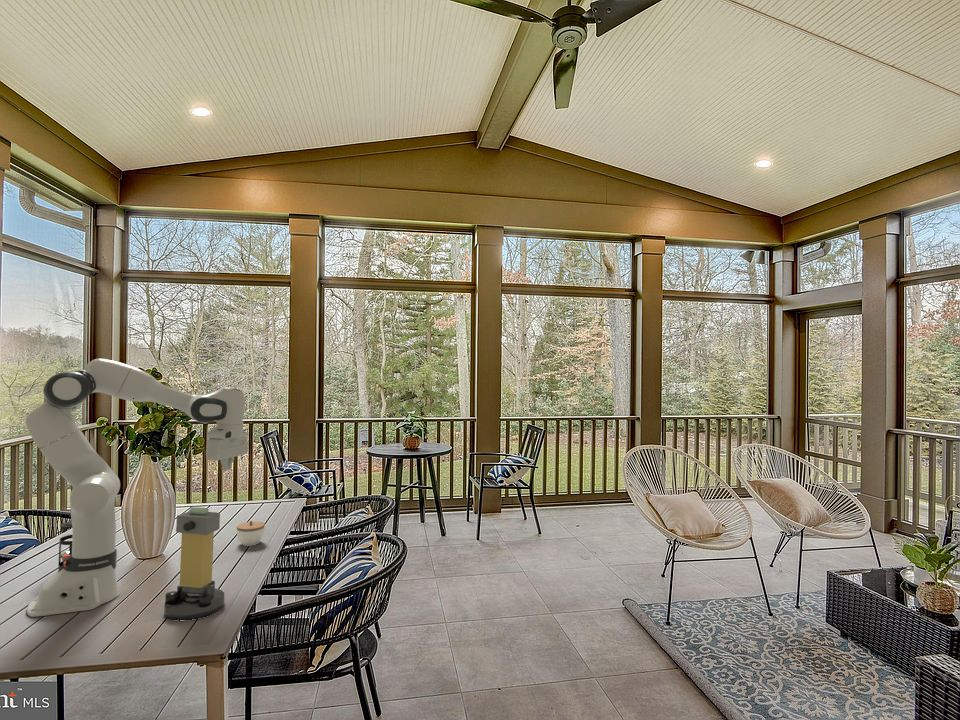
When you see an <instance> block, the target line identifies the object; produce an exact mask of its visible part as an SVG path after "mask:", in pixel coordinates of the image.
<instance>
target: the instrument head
mask: <svg viewBox="0 0 960 720" xmlns="http://www.w3.org/2000/svg"><path fill="white" fill-rule="evenodd" d="M220 522H221V513H220V512H214V511H209V508H208V507H200V506H199V507H198V506H197V507H196V506H192V507H190V508H189V509H188V511H186V512H183V513H181V514H178V515H176V528H175V532H176V533H180V534H181V541H180V542H181V547H180V565H179V566H180V567H179V568H180V569H179V570H180V571H179V585H180V586H182V593H187V594H197V595H204V589H205V588H206V587H208V586H209V585H208V584H209V583H210V582H212V581H213V580H212V579H213V563H214V561H213V560H214V538H215V537H214V535H215V533H214V532H216V531H218V530H220V524H221V523H220Z"/></svg>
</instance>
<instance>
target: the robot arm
mask: <svg viewBox="0 0 960 720" xmlns="http://www.w3.org/2000/svg"><path fill="white" fill-rule="evenodd" d="M42 392H43V398H44V399H43V404H41V405H39V407H38V406H37V407H36V408H35V409H33V410H32V411H30V412H29V413H28V414H27V416H26V417H25V424H26V427H27V430H28V433H29V434H30V436H31V438H32V440H33V441H34V444H35V445H36V447H37V448H38V449H39V451H40V452H41V453H42V455H43V456H44V458H45V459H46V460H47V462H48V464H49V465H50V466H51V467H52V469H53V471H55V472H56V473H58V474H59V475H60V476H61V477H62V478H64V479H65V480H66V482H67V483H69V485H71V487H72V489H71V491H70V496H69V505H70V507H69V509H70V517H71V518H70V519H71V520H70V521H72V528H71V529H72V534H73V536H72V538H71V539H72V540H71V541H72V555H69V554H65V555H64V556H63V558H61V562H62V561H63V569H62V570H61V571H60V572H58V571H57V573H55V575H52V577H50V578H49V579H47V580H46V581H45V582H44V583H43V584H42V585H41V587H40V589H39V591H38V594H37V597H36V598H34V599H33V600H32V601H30V602H29V604H28V606H27V608H26V614H27V616H29V617H31V618H36V617H37V618H38V617H44V616H50V615H60V614H66V613H75V612H76V613H77V612H82V611H89V610H90V611H91V610H93V609H96V608H98V607H99V606H101V605H103V604H105V603H106V604H107V603H108V602H111V601H112V600H114V599H116V598H117V597H118V596H119V595H120V594H121V593H120V592H121V591H120V590H119V586H118V581H117V574H116V573H117V572H116V567H117V565H118V552H117V551H118V549H116V544H117V543H116V540H117V539H116V537H117V536H116V535H117V522H116V511H115V510H116V509H115V507H116V506H115V504H116V503H115V500H116V496H117V495H118V494H119V492H120V489H121V480H120V478H119V476H118V475H117V474H116V473H115V472H114V470H112V468H111V467H110V466H109V464H108V463H107V462H106V461H105V460H104V458H102V457H101V455H99V454H98V453H97V451H96V450H95V448H94V447H93V446H92V445H91V443H90V442H89V440H88V438H86V435H85V434H84V433H83V431H82V430H81V429H80V427H79V426H78V424H77V423H76V421H75V420H74V418H73V415H72V414H73V413H72V411H73V410H74V409H75V408H76V407H79V406H80V405H82V404H83V403H84V402H85V401H86V400H87V398H88V397H89V396H91V394H94V393H101V394H106V395H107V396H108V395H109V396H112V397H114V398H117V399H121V400H125V401H129V402H136V403H147V402H149V403H158V404H161V405H164V406H167V407H170V408H173V409H177V410H179V411H181V412H183V413H184V414H185V415H186V417H188V418H190V419H191V420H192V421H196V422H198V423H202V424H207V423H213V422H216V426H215V427H214V428H212V429H211V430H209V431H207V433H206V438H207V442H206V449H205V457H206V460H207V461H211V462H212V461H214V462H215V461H220V464H221V471H225V472H227V471H229V470H232V465H233V463H234V461H235V457H239V456H245V455H246V454H247V452H248V437H247V433H246V432H245V430H244V414H245V409H246V408H245V405H246V404H245V403H246V399H245V398H246V397H245V393H244V391H242V390H241V389H239V388H234V387H229V386H223V387H221V388H220V389H218V390H215V391H212V392H211V393H208V394H204V393H194V394H193V393H187V392H183V391H180V390H178V389H175V388H172V387H169V386H167V385H165V384H163V383H161V382H160V381H159V380H157V379H156V378H155V377H154V376H153V375H152V374H151V373H148V372H146V371H144V370H142V369H140V368H138V367H136V366H133V365H130V364H127V363H123V362H120V361H116V360H111V359H108V358H107V359H106V358H95V359H93V360H91V361H89V362H88V363H87V365H85V367H84V369H81V370H80V369H79V370H72V371H71V370H69V371H62V372H58V373H55V374H54V375H52V376H50V377H49V378H48V380H46V382H45V383H44V386H43V391H42ZM133 398H134V399H133Z"/></svg>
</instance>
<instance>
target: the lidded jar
mask: <svg viewBox="0 0 960 720" xmlns="http://www.w3.org/2000/svg"><path fill="white" fill-rule="evenodd" d="M265 527H266V524H265V523H264V522H262V521H253V520H250V521H246V522H242V523H239V524H238V525H237V526H236V537H237V540H238V541H239V543H240V544H241V545H242V544H243V545H246V546H245V547H253V545H254V546H257V545H258V544H259V543H260V542H261V541H262V539H263V537H264V534H265ZM256 544H257V545H256ZM243 545H242V546H243Z"/></svg>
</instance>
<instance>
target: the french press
mask: <svg viewBox="0 0 960 720" xmlns="http://www.w3.org/2000/svg"><path fill="white" fill-rule="evenodd" d="M59 527H60V528H61V532H62V533H65V532H66V531H68V530H70V529H72V520H70V521H65V522H63V523H60V525H59ZM72 536H73V533H72V534H68V535H63V536H62V537H60V538H59V544H58V565H57V568H58V569H57V570H58V571H57V573H58V572H60V571H61V570H62V569H63V561H62V558H63V556H64V555H65V554H69V555H72V540H69V539H72ZM62 545H63V546H69V549H68V550H67V551H64V552H62Z"/></svg>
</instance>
